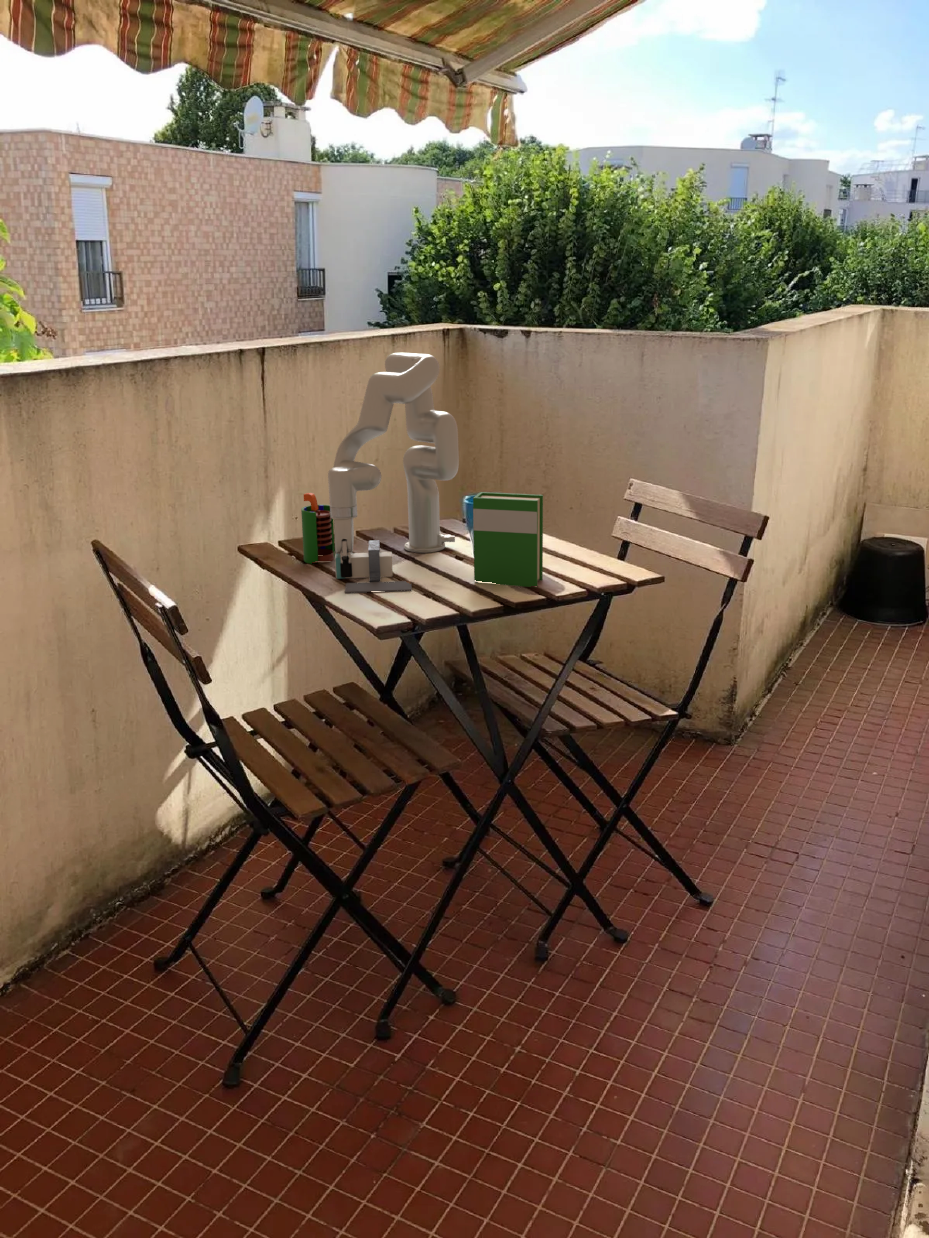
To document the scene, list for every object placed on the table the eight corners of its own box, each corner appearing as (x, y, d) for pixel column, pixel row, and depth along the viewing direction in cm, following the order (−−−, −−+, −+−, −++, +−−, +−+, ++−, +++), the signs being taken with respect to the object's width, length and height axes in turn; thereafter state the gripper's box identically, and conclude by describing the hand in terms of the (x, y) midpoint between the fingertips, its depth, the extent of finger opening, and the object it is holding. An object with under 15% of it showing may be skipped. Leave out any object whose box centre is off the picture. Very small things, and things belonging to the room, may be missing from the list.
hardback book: (542, 579, 306) (543, 494, 298) (536, 587, 299) (537, 500, 292) (481, 575, 311) (480, 492, 303) (474, 582, 304) (473, 497, 296)
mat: (411, 582, 305) (411, 580, 305) (411, 591, 298) (411, 589, 298) (346, 584, 304) (345, 583, 304) (344, 593, 297) (344, 591, 297)
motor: (327, 564, 324) (323, 498, 317) (299, 563, 326) (294, 497, 319) (338, 555, 333) (334, 490, 327) (310, 554, 335) (306, 489, 328)
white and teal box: (392, 572, 316) (391, 551, 314) (392, 576, 311) (391, 555, 310) (336, 574, 315) (335, 553, 313) (335, 578, 310) (334, 558, 308)
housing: (380, 566, 321) (379, 537, 318) (380, 582, 306) (379, 552, 303) (370, 566, 321) (369, 537, 318) (369, 583, 306) (368, 553, 303)
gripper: (331, 505, 315) (335, 566, 321) (328, 519, 299) (332, 583, 304) (357, 504, 315) (360, 565, 321) (356, 518, 299) (359, 582, 305)
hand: (347, 573), depth 313 cm, fingers open, 5 cm apart
